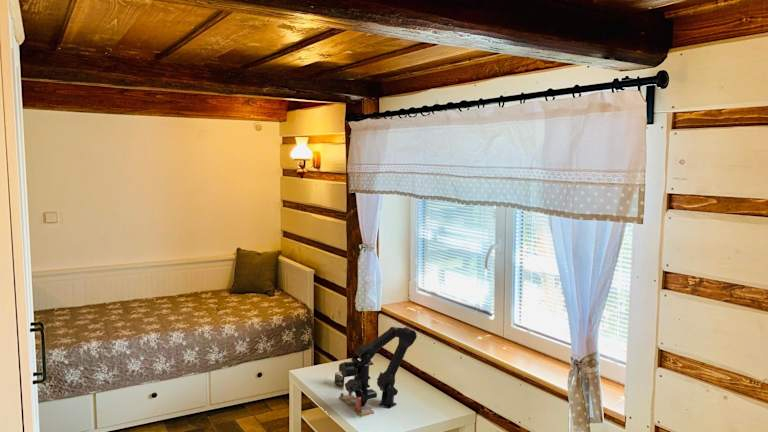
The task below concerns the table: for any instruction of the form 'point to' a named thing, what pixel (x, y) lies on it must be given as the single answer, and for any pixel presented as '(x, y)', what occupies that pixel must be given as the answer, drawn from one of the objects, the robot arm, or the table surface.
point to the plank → (362, 412)
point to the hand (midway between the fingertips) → (360, 405)
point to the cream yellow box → (341, 378)
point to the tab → (357, 402)
